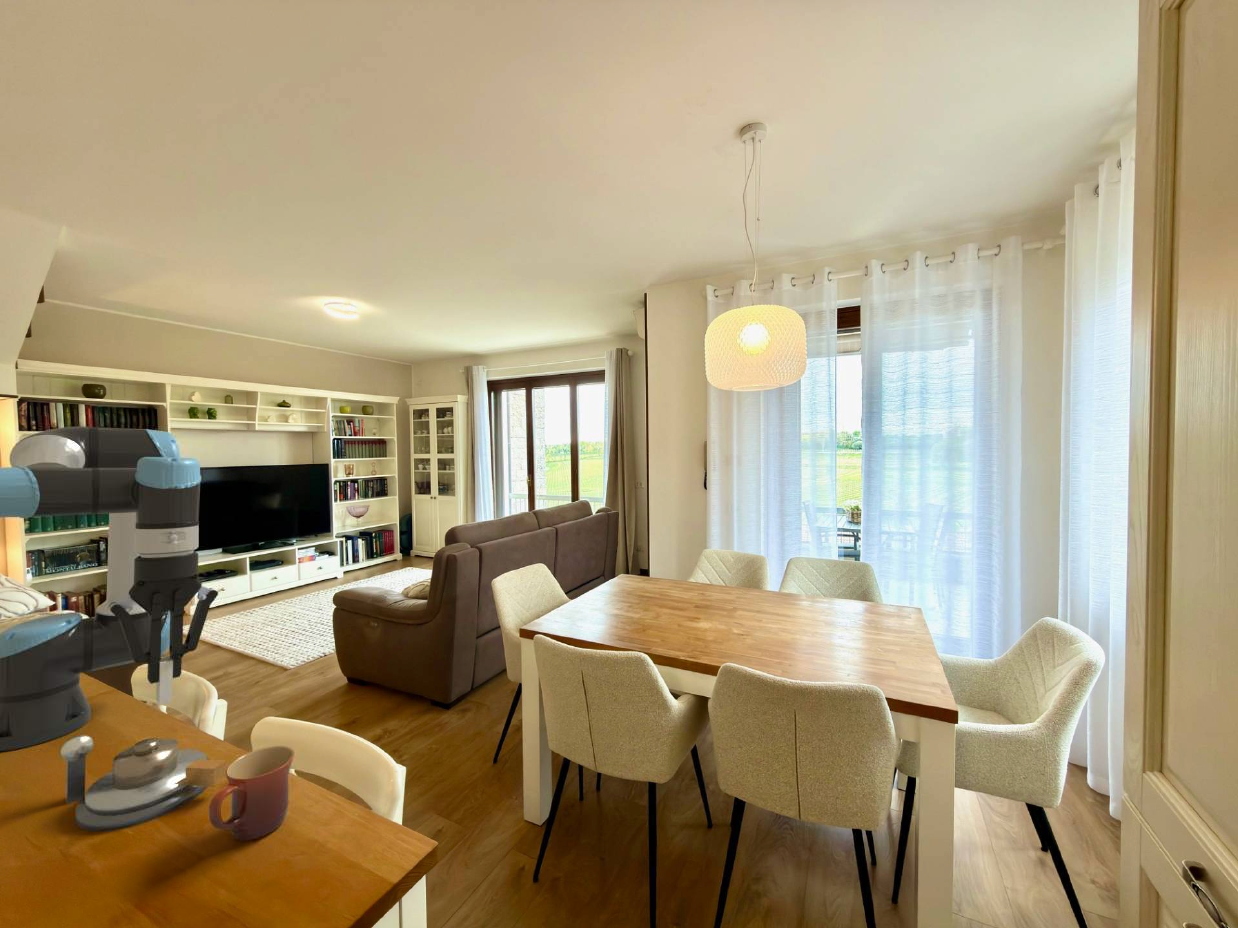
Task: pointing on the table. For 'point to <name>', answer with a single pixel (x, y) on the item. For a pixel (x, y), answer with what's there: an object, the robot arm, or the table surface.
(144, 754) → the cover
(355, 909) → the table surface
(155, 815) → the turntable base
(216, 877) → the table surface
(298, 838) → the table surface
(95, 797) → the turntable
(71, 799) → the dial stand
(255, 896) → the table surface
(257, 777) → the mug
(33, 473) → the robot arm
